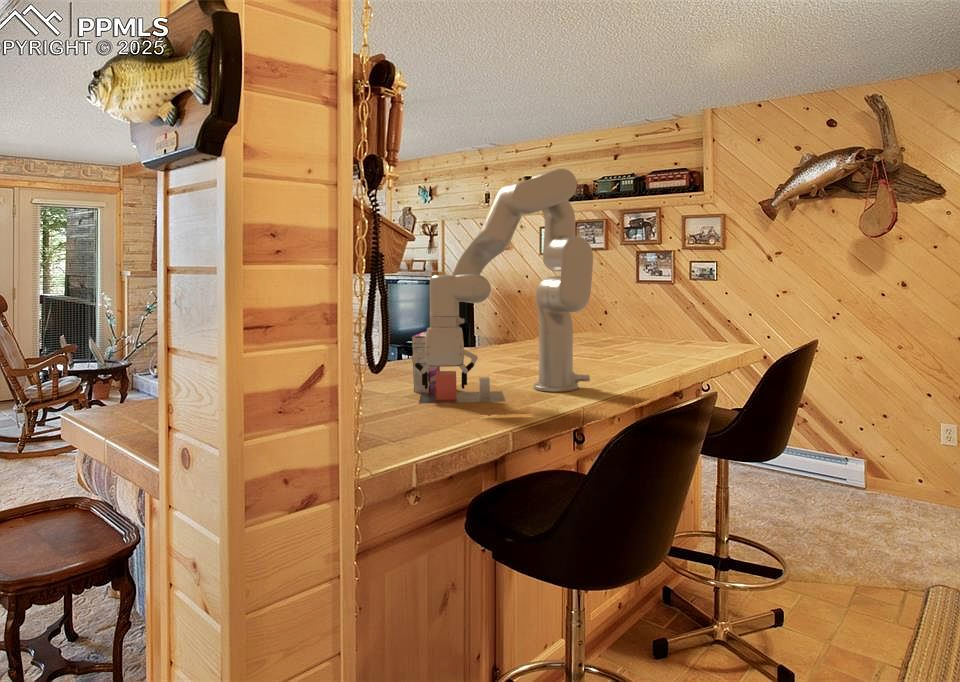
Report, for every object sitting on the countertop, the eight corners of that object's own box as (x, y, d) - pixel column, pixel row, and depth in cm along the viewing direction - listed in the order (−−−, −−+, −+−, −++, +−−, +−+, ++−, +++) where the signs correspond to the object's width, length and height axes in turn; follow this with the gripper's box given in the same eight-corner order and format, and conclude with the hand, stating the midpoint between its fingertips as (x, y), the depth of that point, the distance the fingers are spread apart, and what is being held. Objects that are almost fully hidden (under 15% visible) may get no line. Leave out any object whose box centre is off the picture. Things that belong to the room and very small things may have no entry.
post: (501, 394, 178) (501, 373, 177) (505, 404, 165) (505, 381, 164) (421, 396, 177) (420, 375, 176) (418, 406, 164) (418, 383, 163)
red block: (456, 395, 174) (455, 370, 173) (456, 399, 168) (456, 374, 168) (436, 395, 173) (436, 371, 173) (436, 399, 168) (435, 374, 167)
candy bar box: (424, 387, 189) (422, 331, 188) (440, 387, 188) (439, 331, 187) (412, 395, 179) (410, 335, 177) (430, 395, 178) (428, 336, 176)
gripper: (477, 321, 173) (477, 385, 174) (411, 321, 172) (412, 385, 174) (478, 323, 165) (478, 390, 167) (410, 324, 164) (410, 390, 166)
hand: (444, 387), depth 170 cm, fingers open, 9 cm apart
